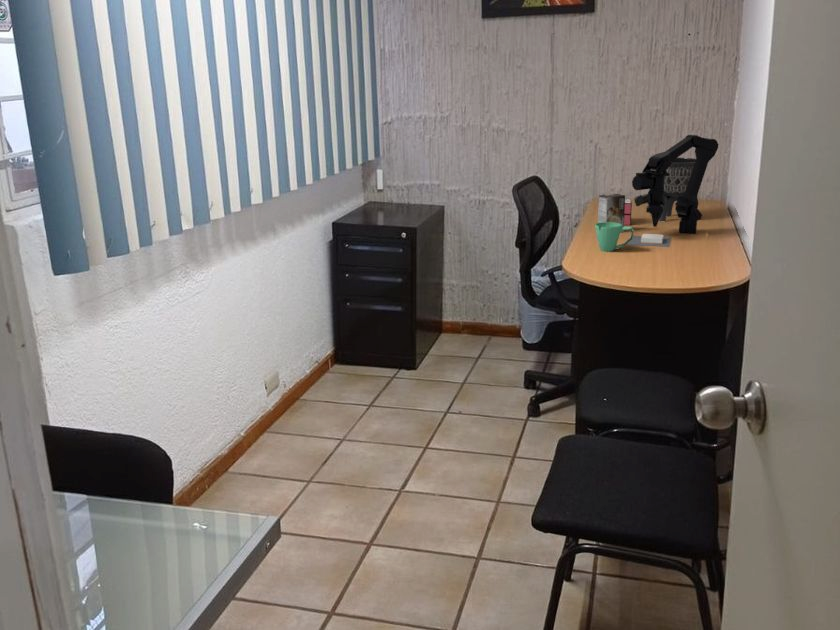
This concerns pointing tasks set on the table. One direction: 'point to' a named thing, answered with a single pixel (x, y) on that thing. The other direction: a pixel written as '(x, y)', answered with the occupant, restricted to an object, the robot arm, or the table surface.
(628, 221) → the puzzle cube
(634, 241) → the mat
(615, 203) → the coffee box
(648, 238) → the tile
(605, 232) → the mug
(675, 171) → the planter
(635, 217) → the table surface
